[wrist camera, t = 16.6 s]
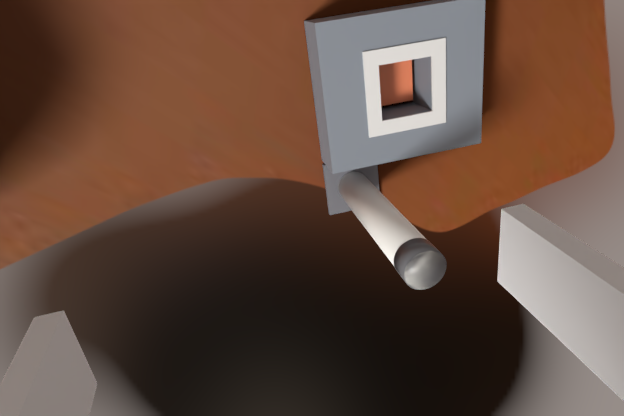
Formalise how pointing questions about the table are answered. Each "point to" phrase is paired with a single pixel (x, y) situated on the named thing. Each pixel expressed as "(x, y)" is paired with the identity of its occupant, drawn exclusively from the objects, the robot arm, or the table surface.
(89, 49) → the table surface
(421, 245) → the stylus
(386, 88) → the orange rectangular tile
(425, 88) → the panel
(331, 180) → the pad
